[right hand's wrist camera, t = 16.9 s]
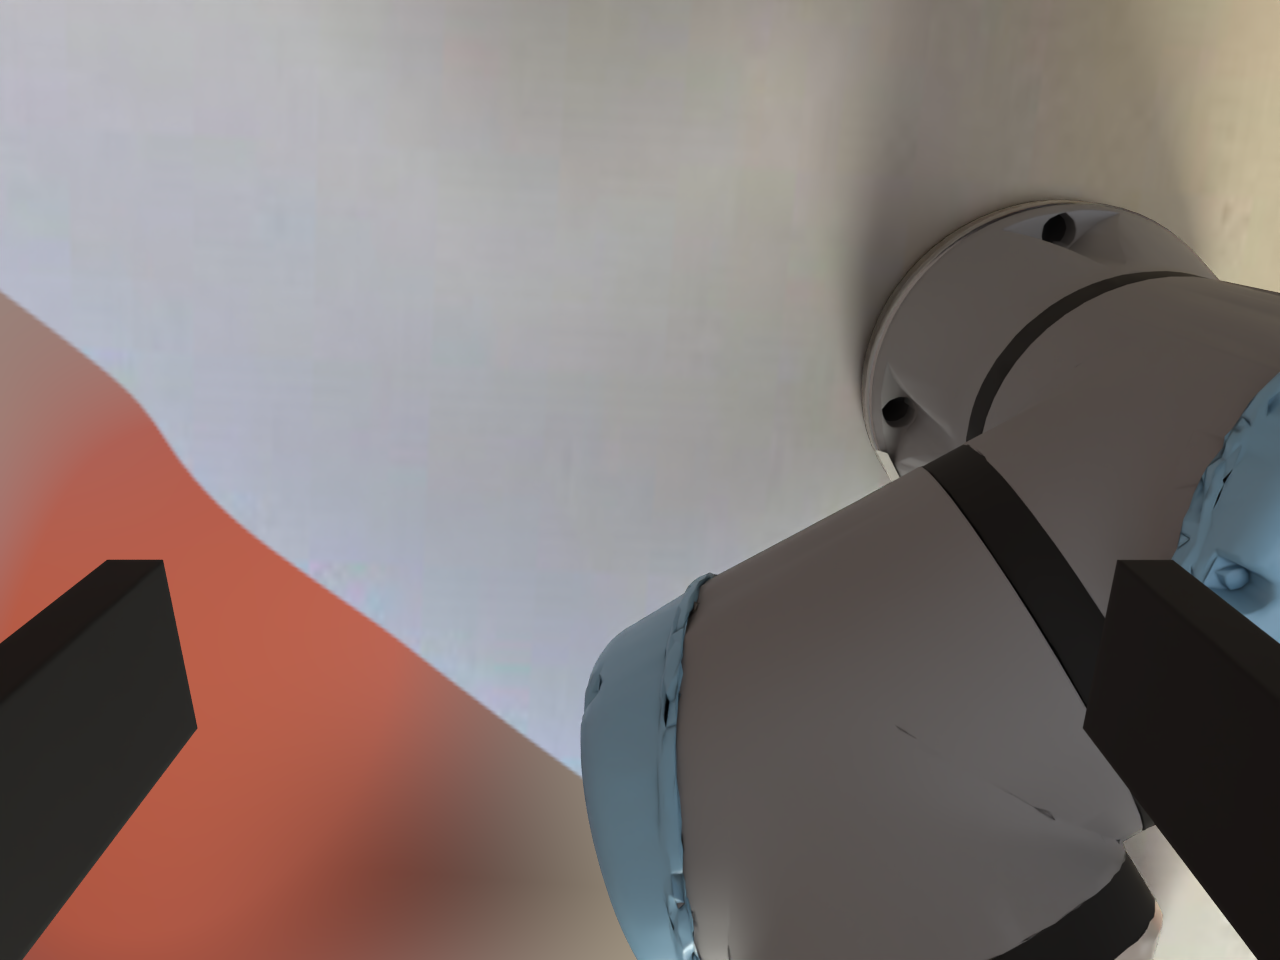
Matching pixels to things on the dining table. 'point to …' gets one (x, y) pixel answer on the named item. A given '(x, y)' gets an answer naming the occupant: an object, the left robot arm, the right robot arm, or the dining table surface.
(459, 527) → the dining table surface
